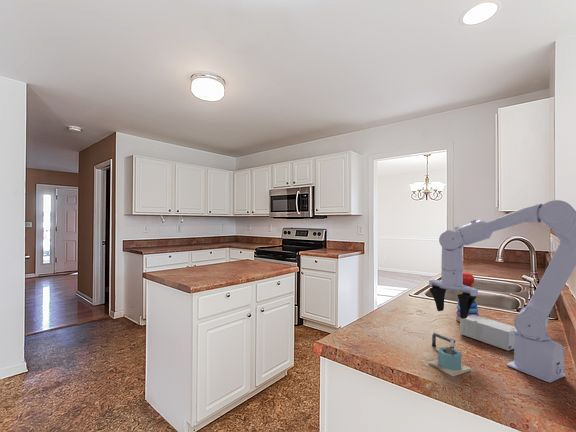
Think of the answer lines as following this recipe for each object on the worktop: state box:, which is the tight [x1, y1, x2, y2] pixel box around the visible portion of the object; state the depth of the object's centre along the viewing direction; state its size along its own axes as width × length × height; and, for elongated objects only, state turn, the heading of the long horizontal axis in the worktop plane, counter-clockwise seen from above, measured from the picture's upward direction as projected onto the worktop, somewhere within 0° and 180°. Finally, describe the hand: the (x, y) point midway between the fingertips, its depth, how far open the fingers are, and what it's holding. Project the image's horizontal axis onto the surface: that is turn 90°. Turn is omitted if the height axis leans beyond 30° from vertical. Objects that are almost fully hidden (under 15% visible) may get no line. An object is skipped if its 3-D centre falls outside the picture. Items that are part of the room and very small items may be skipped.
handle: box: [431, 332, 456, 349], centre depth 86 cm, size 10×6×4 cm, turn 27°
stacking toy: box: [455, 272, 480, 323], centre depth 113 cm, size 8×8×19 cm
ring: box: [437, 346, 462, 370], centre depth 78 cm, size 5×5×4 cm
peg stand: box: [428, 346, 472, 377], centre depth 78 cm, size 7×7×5 cm
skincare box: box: [459, 315, 516, 352], centre depth 95 cm, size 8×6×15 cm
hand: (451, 314), depth 91 cm, fingers open, 7 cm apart
